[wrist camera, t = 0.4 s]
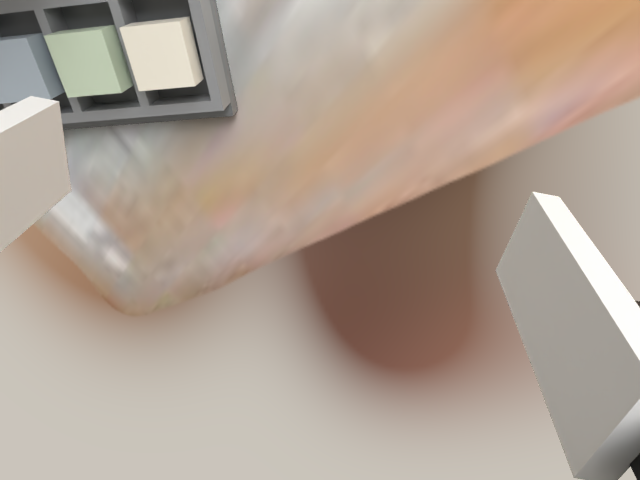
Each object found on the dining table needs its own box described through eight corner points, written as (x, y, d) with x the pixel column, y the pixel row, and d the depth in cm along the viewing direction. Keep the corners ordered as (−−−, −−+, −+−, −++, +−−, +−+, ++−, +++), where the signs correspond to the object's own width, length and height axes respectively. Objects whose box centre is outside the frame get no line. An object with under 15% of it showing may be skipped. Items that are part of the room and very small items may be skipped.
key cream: (131, 23, 33) (119, 27, 32) (189, 16, 33) (179, 21, 31) (149, 83, 35) (139, 91, 34) (203, 78, 35) (195, 86, 33)
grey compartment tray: (-83, -9, 36) (-124, -3, 33) (206, -45, 33) (190, -43, 30) (-14, 130, 42) (-43, 145, 39) (237, 109, 39) (226, 124, 36)
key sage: (59, 30, 34) (43, 35, 32) (114, 24, 33) (101, 29, 32) (81, 89, 36) (67, 97, 34) (133, 85, 36) (121, 92, 34)
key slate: (-10, 38, 35) (-29, 43, 33) (42, 32, 34) (26, 37, 32) (16, 96, 37) (-1, 103, 35) (65, 91, 36) (51, 99, 35)
